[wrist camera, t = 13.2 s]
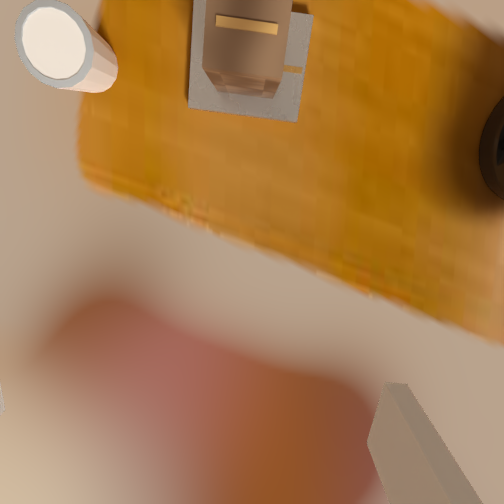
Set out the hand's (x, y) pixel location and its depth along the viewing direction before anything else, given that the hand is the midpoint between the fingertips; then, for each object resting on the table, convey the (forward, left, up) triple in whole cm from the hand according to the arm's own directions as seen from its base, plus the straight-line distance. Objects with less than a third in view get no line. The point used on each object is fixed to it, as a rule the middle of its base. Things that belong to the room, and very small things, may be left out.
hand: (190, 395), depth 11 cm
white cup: (+22, -2, -31) cm, 38 cm away
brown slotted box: (+9, -13, -29) cm, 33 cm away
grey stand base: (+9, -13, -30) cm, 34 cm away
